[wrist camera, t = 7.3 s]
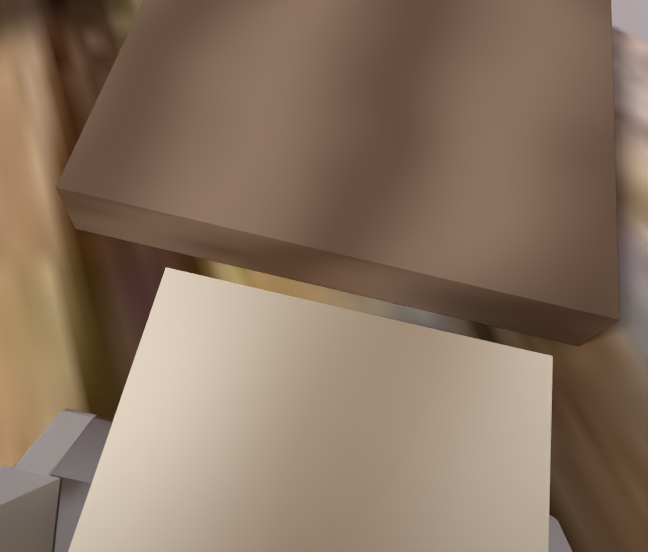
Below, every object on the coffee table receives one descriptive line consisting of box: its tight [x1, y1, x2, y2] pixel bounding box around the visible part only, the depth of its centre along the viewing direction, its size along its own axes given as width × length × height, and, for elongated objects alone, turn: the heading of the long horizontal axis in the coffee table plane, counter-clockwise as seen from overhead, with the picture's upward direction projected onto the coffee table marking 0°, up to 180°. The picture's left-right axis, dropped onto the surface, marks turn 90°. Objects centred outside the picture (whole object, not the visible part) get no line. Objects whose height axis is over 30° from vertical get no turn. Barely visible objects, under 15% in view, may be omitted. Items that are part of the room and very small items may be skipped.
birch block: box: [68, 268, 553, 552], centre depth 10 cm, size 5×5×8 cm
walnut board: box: [56, 0, 620, 346], centre depth 18 cm, size 14×12×2 cm
